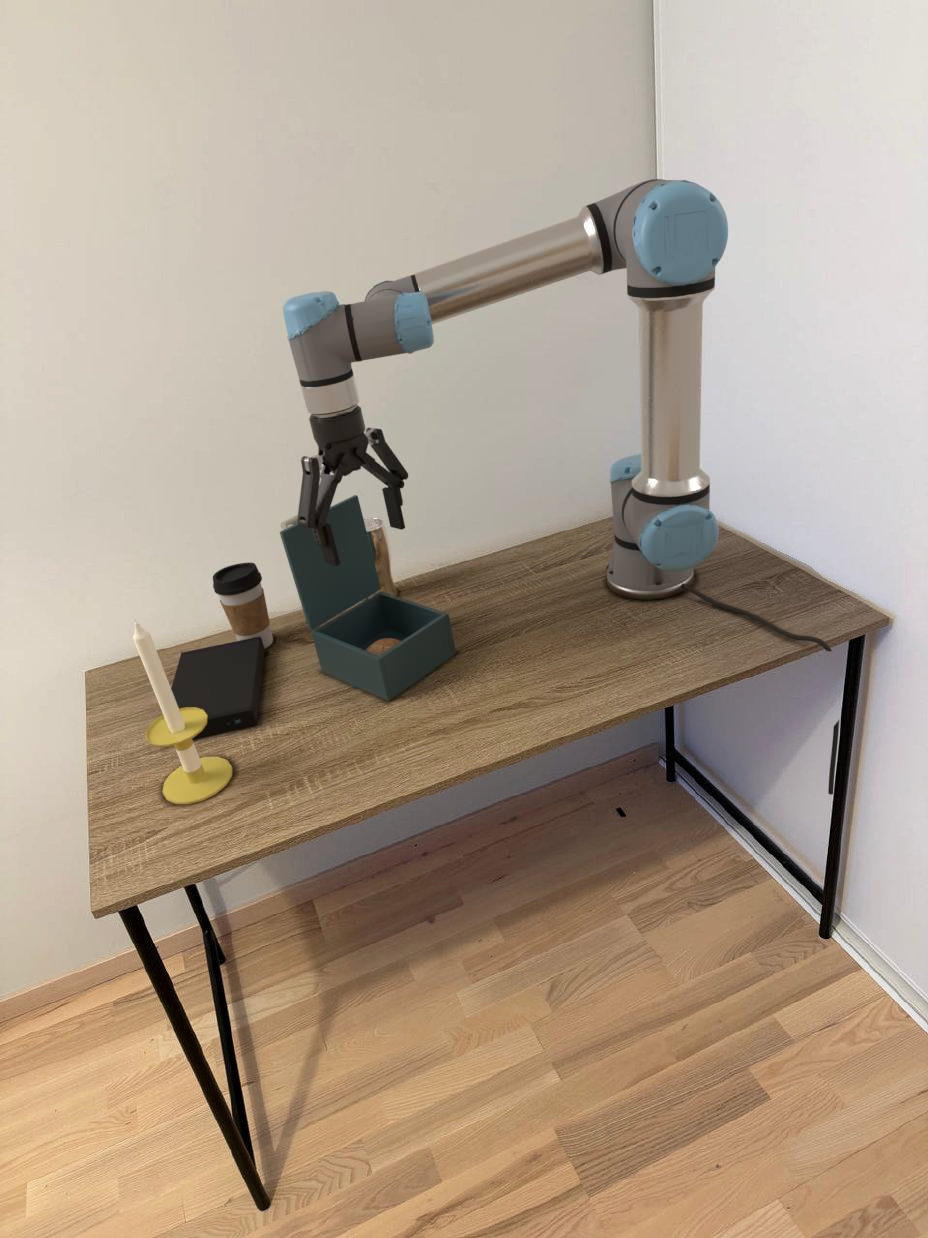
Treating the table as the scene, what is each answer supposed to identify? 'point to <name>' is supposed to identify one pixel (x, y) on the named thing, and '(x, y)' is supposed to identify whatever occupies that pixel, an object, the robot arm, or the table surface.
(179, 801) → the candle
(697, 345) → the robot arm
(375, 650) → the bread roll
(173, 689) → the external hard drive
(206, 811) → the table surface
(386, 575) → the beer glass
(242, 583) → the coffee cup
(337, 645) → the bread box
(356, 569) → the bread box lid
